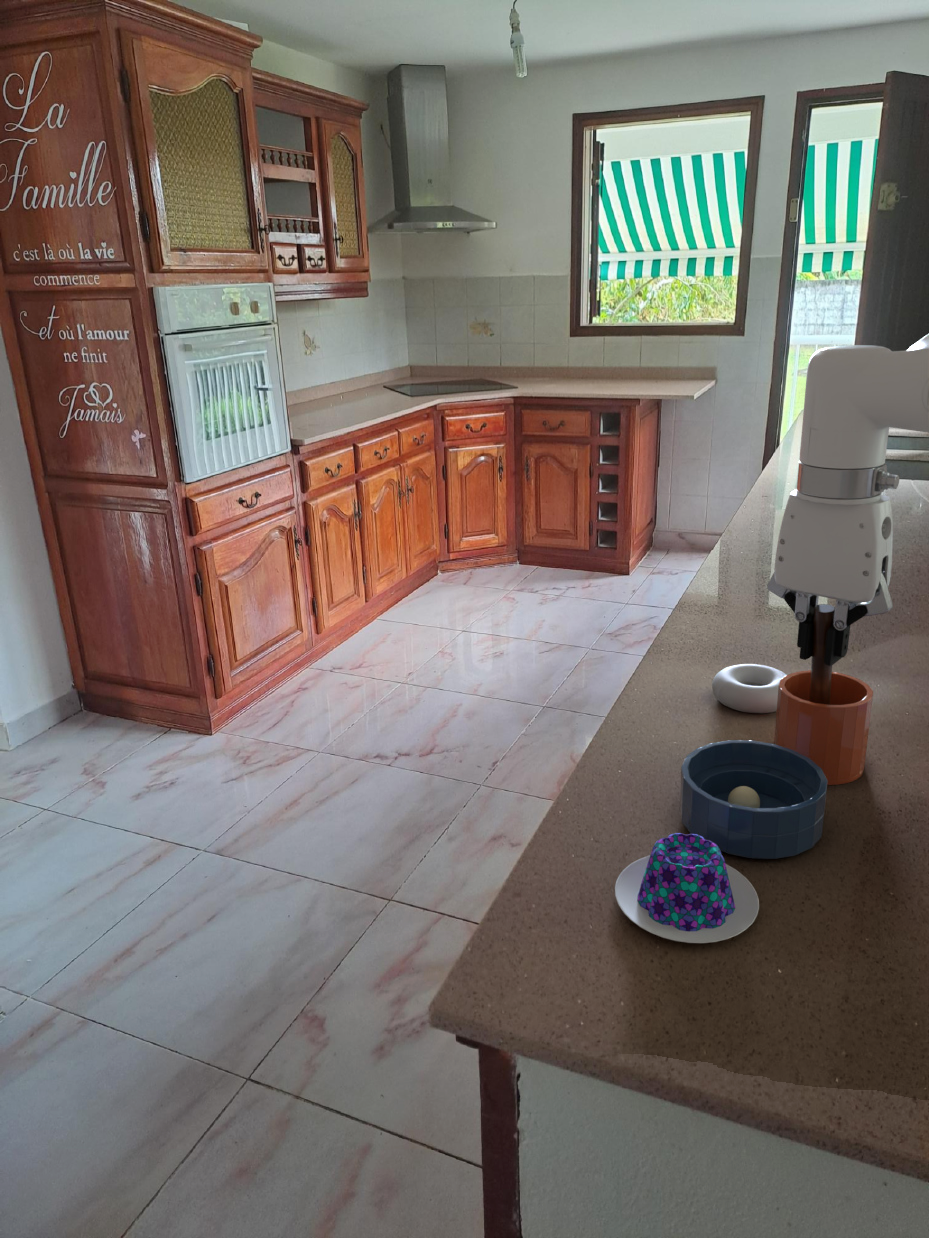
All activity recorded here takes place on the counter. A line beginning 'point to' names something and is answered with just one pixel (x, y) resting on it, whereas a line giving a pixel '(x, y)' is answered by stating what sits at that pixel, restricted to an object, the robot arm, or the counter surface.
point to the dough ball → (744, 797)
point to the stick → (821, 655)
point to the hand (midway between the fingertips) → (820, 657)
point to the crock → (826, 724)
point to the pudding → (687, 892)
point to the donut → (748, 687)
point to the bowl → (781, 784)
